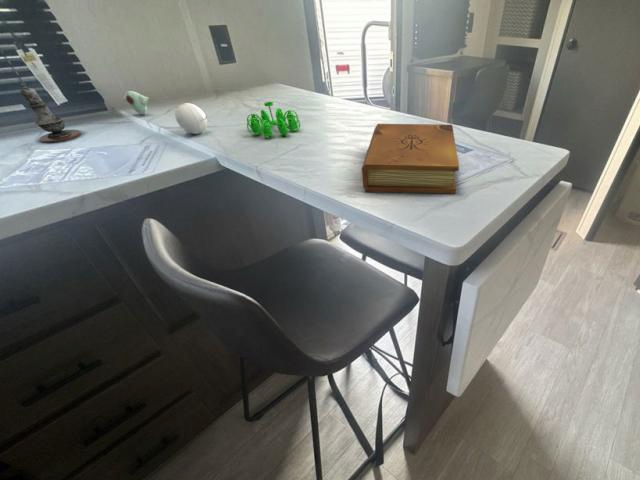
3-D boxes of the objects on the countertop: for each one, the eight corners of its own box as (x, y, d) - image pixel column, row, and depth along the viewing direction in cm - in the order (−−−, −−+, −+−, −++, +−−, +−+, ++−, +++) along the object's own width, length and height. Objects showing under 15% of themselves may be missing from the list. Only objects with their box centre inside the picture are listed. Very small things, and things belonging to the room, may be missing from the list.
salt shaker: (40, 137, 85) (-1, 85, 76) (61, 130, 89) (24, 80, 80) (57, 139, 84) (18, 86, 75) (78, 132, 88) (42, 81, 79)
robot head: (158, 114, 101) (146, 89, 96) (149, 117, 98) (136, 92, 93) (136, 112, 102) (123, 88, 97) (127, 116, 99) (113, 91, 94)
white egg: (203, 138, 86) (190, 107, 80) (178, 137, 86) (163, 107, 81) (221, 126, 93) (210, 97, 87) (198, 125, 93) (185, 96, 88)
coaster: (34, 144, 83) (32, 142, 83) (51, 133, 89) (49, 130, 89) (72, 141, 85) (70, 139, 84) (87, 130, 91) (85, 128, 90)
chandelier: (262, 144, 82) (252, 115, 77) (239, 130, 90) (230, 102, 85) (312, 131, 89) (306, 103, 84) (287, 119, 97) (281, 92, 92)
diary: (376, 148, 80) (374, 123, 76) (449, 149, 79) (452, 124, 75) (363, 191, 64) (361, 163, 60) (455, 193, 63) (459, 165, 59)
